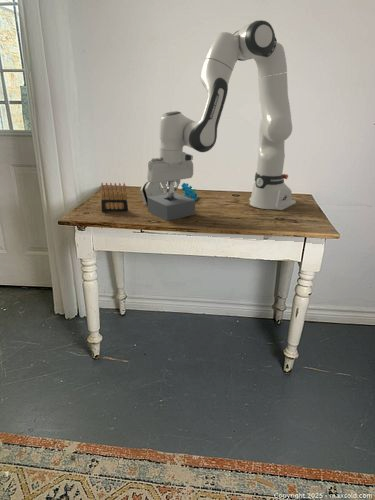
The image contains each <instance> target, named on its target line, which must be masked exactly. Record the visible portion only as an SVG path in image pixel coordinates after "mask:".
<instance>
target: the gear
mask: <svg viewBox="0 0 375 500" xmlns="http://www.w3.org/2000/svg"><path fill="white" fill-rule="evenodd" d="M180 185H181V191H183V196H186V197H188V198H191V199H193V200H195V202H197V200H198V198H199V197H198V193H196V188H193V187H192V185H189V183H185V182H183V183H182V184H180ZM192 188H193V189H192Z"/></svg>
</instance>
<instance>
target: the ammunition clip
mask: <svg viewBox="0 0 375 500" xmlns="http://www.w3.org/2000/svg"><path fill="white" fill-rule="evenodd" d="M100 196H101V197H100V199H101V203H100V204H101V212H102V213H103V212H104V213H106V212H107V213H112V212H113V213H114V212H115V213H117V212H118V213H128V212H129V206H128V194H127V187H126V184H125V182H123V185H122V184H121V183H120V182H119V183H118V187H117V183H116V182H114V185H113V184H112V182H109V184H108V183H107V182H106V183H105V185H104V183H103V182H101V184H100Z"/></svg>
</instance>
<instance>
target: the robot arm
mask: <svg viewBox="0 0 375 500" xmlns="http://www.w3.org/2000/svg"><path fill="white" fill-rule="evenodd" d="M252 59H253V60H254V62H255V65H256V66H257V81H258V83H257V84H258V94H259V95H258V97H259V98H258V99H259V103H260V109H261V110H260V111H261V117H262V118H261V119H260V122H259V131H258V157H257V168H256V172H255V175H254V181H255V182H254V183H253V186H252V189H251V195H250V197H249V199H248V200H249V205H250V206H252V207H254V208H258V209H263V210H277V211H278V210H279V211H283V210H285V209H287V208H289V207H291V206H293V205H296V204H297V201H296V200H295V199H294V198H293V199H292V195H293V194H292V190H291V188H290V187H289V186H288V185H286V183H285V180H288V178H289V175H288V174H285V173H283V172H284V164H285V158H286V156H285V155H286V154H285V143H286V142H285V141H286V140H287V139H288V138H289V137H290V136H291V134H292V132H293V122H292V112H291V106H290V101H289V100H290V99H289V92H288V91H289V90H288V89H289V87H288V69H287V68H288V66H287V57H286V52H285V48H284V46H283V45H282V44H281V43H280V42H277V37H276V34H275V30H274V28H273V26H272V24H271V23H270V22H268V21H267V20H262V19H260V20H254V21H253V22H250V23H248V24H245V25H244V26H243V27H242V28H240V29H239V30H236V31H235V32H234V33H230V32H227V31H223V32H222V31H221V32H219V33H218V34H217V35H216V36H215V38H214V40H213V42H212V43H211V46H210V47H209V50H207V54H206V55H205V58H204V62H203V64H202V67H201V70H200V71H201V72H200V81H201V84H202V86H203V87H204V88H205V90H206V92H207V100H206V104H205V107H204V110H203V114H202V116H201V119H200V121H195V120H194V119H191V118H189V117H187V116H185V115H184V114H183V113H182V112H181V111H178V110H176V111H169V112H164V113H163V114H162V116H161V118H160V123H159V140H160V145H159V157H157V158H151V159H150V160H149V161H148V164H147V165H148V166H147V167H148V169H147V178H146V179H147V182H148V181H149V182H150V183H153V184H155V183H160V184H161V187H162V189H163V191H164V192H165V193H166V194H167V192H169V188H167V182H168V181H175V188H174V192H178V190H179V186H180V185H181V180H186V179H192V177H193V175H194V163H193V160H194V155H192V154H190V153H186V152H185V151H183V148H184V147H185V146H186V147H188V148H191V149H193V150H195V151H197V152H199V153H206V152H209V151H210V150H212V148H213V147H214V146H215V145H216V142H217V138H218V126H219V123H220V119H221V117H222V113H223V110H224V106H225V102H226V99H227V96H228V88H229V82H230V79H231V76H232V73H233V71H234V68H235V67H236V66H235V65H236V63H237V61H240V62H241V61H243V62H244V61H247V60H252Z"/></svg>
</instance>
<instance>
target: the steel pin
mask: <svg viewBox="0 0 375 500" xmlns="http://www.w3.org/2000/svg"><path fill="white" fill-rule="evenodd" d="M166 186H167V188H169V192H167V193H166V194H167V200H169V201H173V200H174V192H175V191H174V188H175V181H168V182H167V184H166Z"/></svg>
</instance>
